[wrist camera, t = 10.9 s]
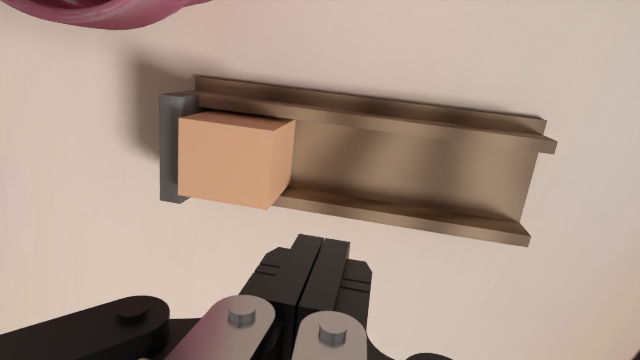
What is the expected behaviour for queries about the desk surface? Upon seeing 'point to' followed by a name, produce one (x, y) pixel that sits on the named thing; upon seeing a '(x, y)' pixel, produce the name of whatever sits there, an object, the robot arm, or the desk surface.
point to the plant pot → (102, 11)
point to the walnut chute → (383, 158)
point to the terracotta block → (235, 157)
